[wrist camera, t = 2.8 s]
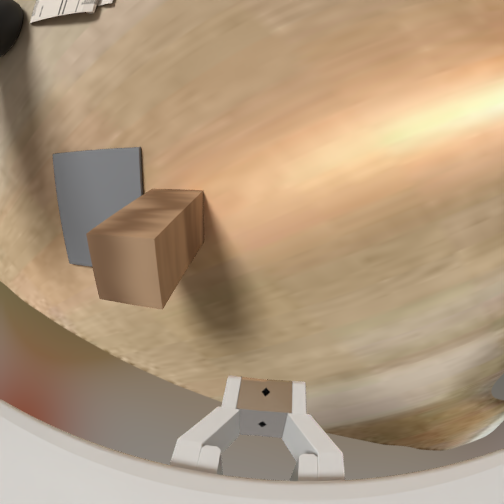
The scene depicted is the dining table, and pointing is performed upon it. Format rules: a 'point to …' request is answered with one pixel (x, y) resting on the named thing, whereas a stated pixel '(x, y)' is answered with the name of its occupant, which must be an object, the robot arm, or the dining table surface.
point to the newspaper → (64, 7)
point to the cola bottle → (9, 24)
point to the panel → (93, 192)
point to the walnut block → (147, 247)
